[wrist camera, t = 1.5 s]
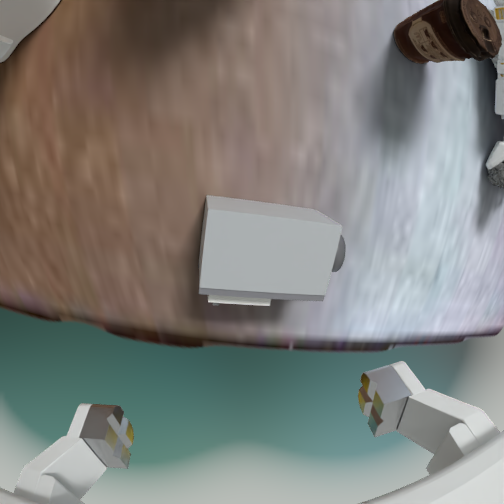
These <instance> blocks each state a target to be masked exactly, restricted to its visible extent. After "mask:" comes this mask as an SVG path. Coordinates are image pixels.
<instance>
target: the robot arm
mask: <svg viewBox="0 0 504 504" xmlns="http://www.w3.org/2000/svg"><path fill="white" fill-rule="evenodd" d="M59 2H60V0H0V62H3V61H5V60H6V59H7V58H8V57H9V56H10V54H11V53H12V52H13V50H14V49H15V48H16V46H17V45H18V43H19V42H20V41H21V40H22V39H23V38H24V37H25V36H27V35H28V34H29V33H30V32H32V31H33V30H34V29H35V28H36V27H37V26H39V25H40V24H41V23H42V22H43V21H44V20H45V19H46V18H47V17H48V15H49V14H50V13H51V12H52V11H53V10H54V8H55V7H56V6H57V4H58V3H59ZM360 381H361V383H362V385H363V386H362V387H361V388H360V389H359V393H358V399H359V405H360V408H361V410H362V413H363V414H364V415H366V416H368V417H369V420H368V425H369V427H370V429H371V431H372V433H373V435H374V437H377V436H380V435H383V434H386V433H389V432H392V431H395V430H397V432H399V433H400V434H402V435H404V436H405V437H407V438H408V439H410V440H412V441H413V442H415V443H416V444H418V445H420V446H421V447H423V448H425V449H426V450H428V451H430V452H431V453H433V454H434V456H433V458H432V459H431V461H430V462H429V464H428V466H427V471H428V472H429V474H430V475H429V476H427V477H425V478H422V479H420V480H418V481H416V482H414V483H411V484H409V485H407V486H405V487H402V488H400V489H398V490H395V491H392V492H390V493H387V494H385V495H382V496H379V497H377V498H374V499H371V500H368V501H365V502H362V503H359V504H504V431H502V432H501V433H500V431H499V430H498V429H497V428H496V426H495V425H494V424H493V422H492V421H491V420H490V418H489V417H488V416H487V415H486V414H485V412H484V411H483V410H482V409H480V408H478V407H475V406H472V405H469V404H467V403H464V402H461V401H459V400H456V399H454V398H451V397H449V396H446V395H444V394H441V393H439V392H436V391H434V390H431V389H427V390H425V388H424V387H423V386H422V384H421V383H420V382H419V380H418V379H417V378H416V377H415V375H414V374H413V372H412V371H411V370H410V368H409V367H408V366H407V364H406V363H405V362H403V361H400V362H397V363H394V364H391V365H387V366H384V367H381V368H378V369H374V370H371V371H367V372H364V373H363V374H362V375H361V380H360ZM123 414H124V411H123V410H122V408H121V407H120V406H118V405H100V404H83V403H82V404H81V405H79V406H78V408H77V411H76V413H75V416H74V419H73V421H72V423H71V426H70V428H69V431H68V433H67V436H63V437H62V438H60V439H59V440H57V441H56V442H55V443H54V444H52V445H51V446H50V447H49V448H47V449H46V450H45V451H44V452H42V453H41V454H40V455H38V456H37V457H36V458H35V459H33V460H32V461H31V462H30V463H28V464H27V465H26V466H24V467H23V469H22V472H21V474H20V477H19V480H18V483H17V485H16V488H15V491H14V493H12V492H9V491H7V490H5V489H2V488H0V504H84V503H83V502H82V501H80V499H81V498H82V497H83V496H84V495H85V494H86V492H87V491H88V490H89V489H90V488H91V486H92V485H93V484H94V483H95V482H96V481H97V480H98V478H99V477H100V476H101V475H102V474H103V473H104V471H105V470H106V469H107V467H111V468H126V469H128V465H129V460H130V455H131V454H130V452H129V450H128V448H129V447H130V446H131V445H132V444H133V439H134V436H133V435H134V434H133V428H132V425H131V423H130V421H129V420H128V419H126V418H125V417H123Z"/></svg>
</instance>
